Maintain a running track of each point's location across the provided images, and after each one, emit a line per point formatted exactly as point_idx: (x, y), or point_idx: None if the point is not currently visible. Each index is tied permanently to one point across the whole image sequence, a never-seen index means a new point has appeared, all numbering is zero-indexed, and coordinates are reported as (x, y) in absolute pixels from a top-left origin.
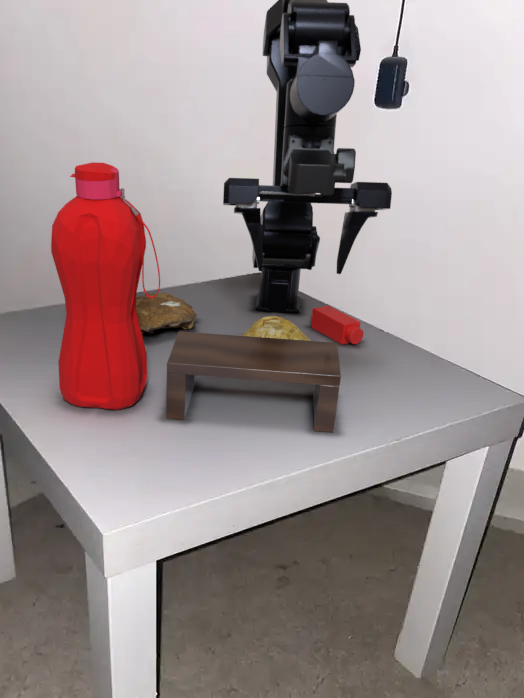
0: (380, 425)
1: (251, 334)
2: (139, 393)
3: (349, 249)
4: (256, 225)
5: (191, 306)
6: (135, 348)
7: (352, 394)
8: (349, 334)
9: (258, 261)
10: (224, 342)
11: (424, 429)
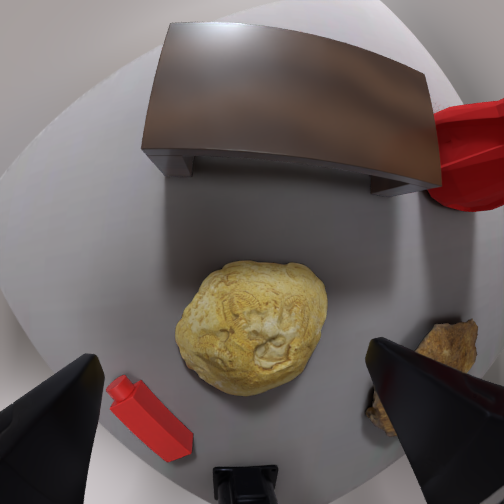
0: (114, 103)
1: (306, 324)
2: None
3: (27, 395)
4: (500, 407)
5: (376, 424)
6: (464, 117)
7: (130, 188)
8: (125, 383)
9: (401, 347)
10: (376, 131)
11: (69, 109)
